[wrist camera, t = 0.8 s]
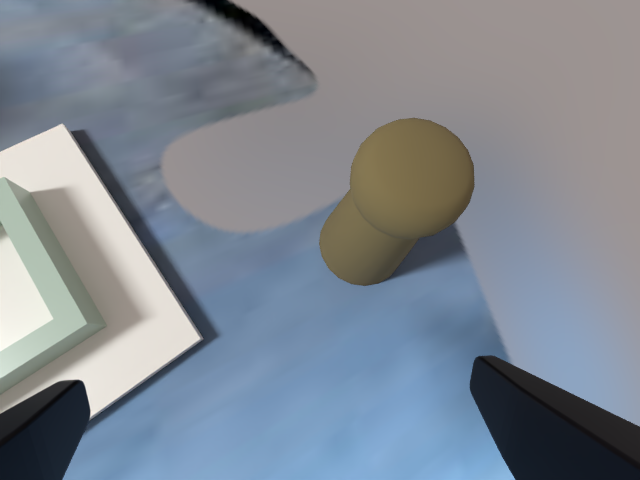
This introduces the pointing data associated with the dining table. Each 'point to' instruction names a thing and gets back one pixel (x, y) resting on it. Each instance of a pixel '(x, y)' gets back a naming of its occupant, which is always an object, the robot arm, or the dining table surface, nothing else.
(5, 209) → the dock plate
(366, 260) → the cork
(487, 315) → the dining table surface
